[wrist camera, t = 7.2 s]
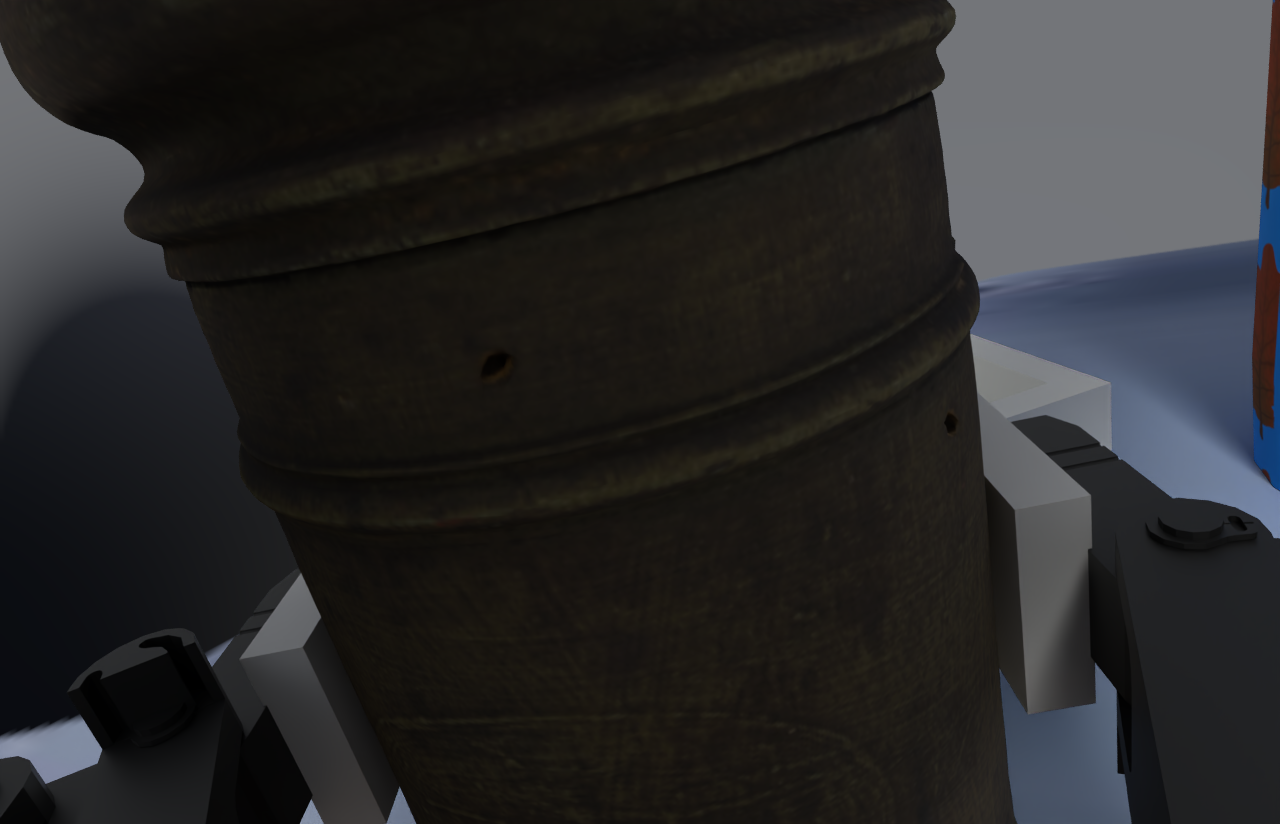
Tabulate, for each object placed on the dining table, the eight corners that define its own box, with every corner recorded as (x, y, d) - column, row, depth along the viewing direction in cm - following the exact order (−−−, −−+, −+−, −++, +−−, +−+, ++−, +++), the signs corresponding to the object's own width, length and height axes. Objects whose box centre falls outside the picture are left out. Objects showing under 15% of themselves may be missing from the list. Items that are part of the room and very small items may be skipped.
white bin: (827, 366, 44) (813, 279, 42) (1112, 524, 26) (1110, 382, 24) (475, 478, 41) (444, 389, 39) (513, 747, 23) (459, 604, 21)
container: (1236, 1259, 11) (1402, -501, 4) (607, 1643, 9) (-678, -237, 3) (876, 779, 19) (744, -70, 12) (512, 936, 17) (142, 57, 11)
